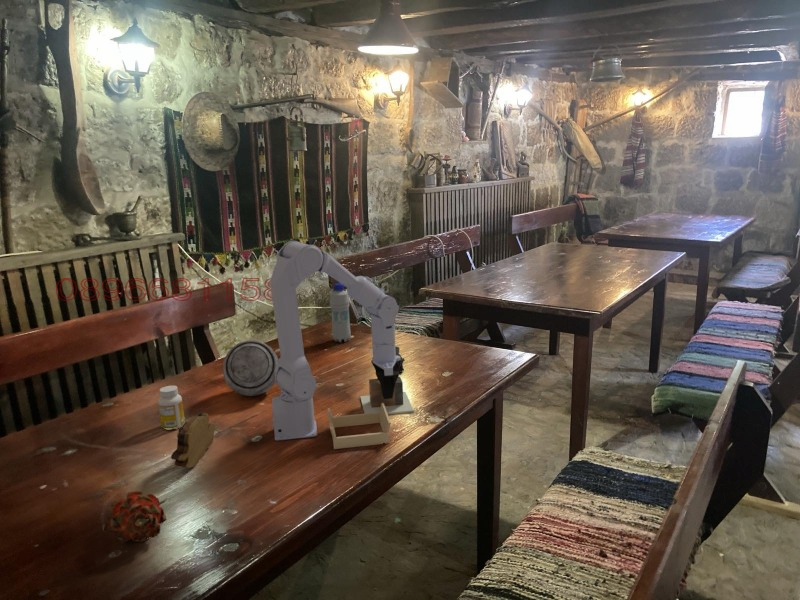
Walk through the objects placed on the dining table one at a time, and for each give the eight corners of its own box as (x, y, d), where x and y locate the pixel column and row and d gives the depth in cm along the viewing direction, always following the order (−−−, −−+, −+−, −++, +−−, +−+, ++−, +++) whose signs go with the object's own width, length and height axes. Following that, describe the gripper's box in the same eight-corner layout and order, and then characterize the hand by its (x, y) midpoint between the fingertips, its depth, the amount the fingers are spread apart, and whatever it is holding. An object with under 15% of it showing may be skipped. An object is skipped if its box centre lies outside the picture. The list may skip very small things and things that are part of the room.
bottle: (334, 337, 212) (331, 281, 207) (353, 337, 211) (350, 281, 206) (329, 343, 205) (326, 285, 200) (349, 343, 204) (346, 285, 199)
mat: (365, 417, 148) (365, 415, 148) (360, 397, 159) (360, 396, 159) (413, 412, 150) (413, 410, 149) (405, 393, 161) (405, 391, 161)
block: (371, 407, 152) (370, 385, 150) (369, 401, 156) (368, 379, 154) (403, 404, 153) (402, 382, 151) (400, 398, 157) (399, 376, 155)
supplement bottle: (177, 419, 150) (172, 382, 148) (189, 424, 147) (184, 387, 144) (157, 427, 146) (151, 389, 144) (169, 433, 143) (164, 394, 140)
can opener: (404, 377, 173) (403, 359, 172) (379, 377, 174) (379, 359, 172) (408, 356, 190) (408, 339, 189) (386, 356, 191) (386, 339, 189)
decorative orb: (223, 407, 156) (217, 352, 152) (227, 386, 170) (221, 335, 166) (282, 400, 159) (277, 346, 155) (281, 381, 173) (276, 330, 169)
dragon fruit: (158, 559, 101) (119, 544, 108) (187, 511, 105) (148, 500, 112) (121, 537, 95) (83, 523, 103) (153, 488, 100) (114, 477, 107)
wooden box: (331, 449, 132) (330, 428, 131) (328, 427, 143) (327, 407, 142) (391, 442, 134) (390, 422, 133) (384, 421, 145) (383, 402, 144)
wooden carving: (198, 442, 137) (193, 402, 135) (218, 442, 137) (213, 401, 135) (169, 481, 121) (163, 436, 119) (192, 481, 121) (186, 435, 119)
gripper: (404, 349, 144) (406, 402, 147) (394, 331, 158) (396, 380, 161) (375, 351, 143) (377, 404, 146) (368, 333, 157) (370, 382, 160)
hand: (385, 392), depth 154 cm, fingers open, 7 cm apart
